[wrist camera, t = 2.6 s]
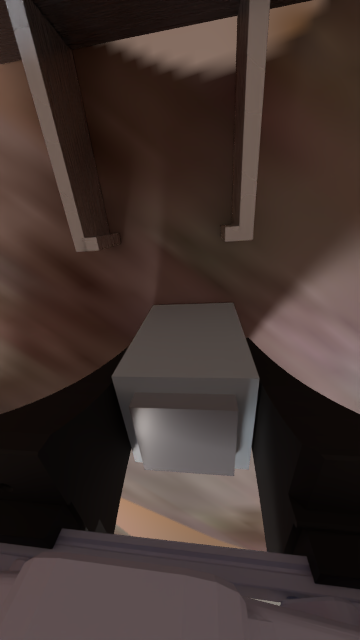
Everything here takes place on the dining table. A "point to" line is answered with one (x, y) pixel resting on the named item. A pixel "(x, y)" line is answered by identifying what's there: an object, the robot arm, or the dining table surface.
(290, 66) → the dining table surface
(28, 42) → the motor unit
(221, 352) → the block
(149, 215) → the dining table surface
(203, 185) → the dining table surface
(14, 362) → the dining table surface
